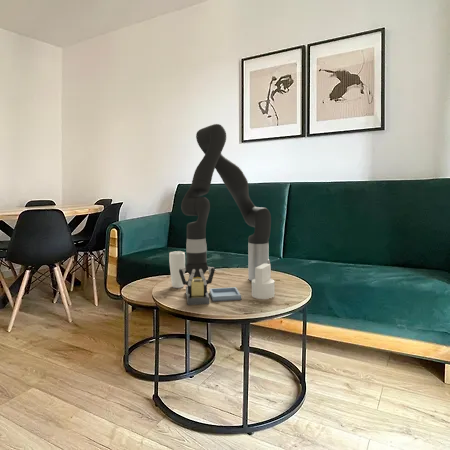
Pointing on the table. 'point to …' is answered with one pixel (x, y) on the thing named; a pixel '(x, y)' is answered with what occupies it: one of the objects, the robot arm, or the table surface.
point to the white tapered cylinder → (176, 267)
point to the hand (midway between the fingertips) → (197, 294)
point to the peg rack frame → (197, 299)
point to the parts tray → (225, 294)
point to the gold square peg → (197, 288)
